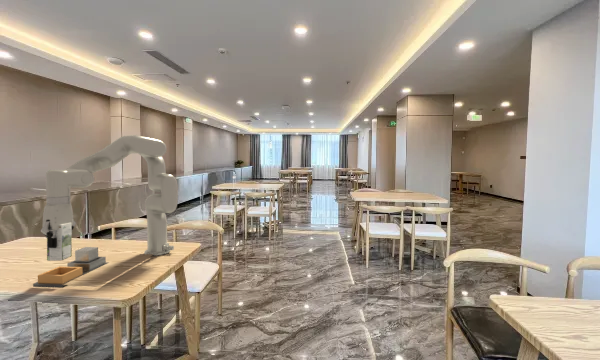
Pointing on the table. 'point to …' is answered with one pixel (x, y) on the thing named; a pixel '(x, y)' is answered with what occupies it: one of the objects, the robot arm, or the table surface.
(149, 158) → the robot arm
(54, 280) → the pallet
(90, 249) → the block
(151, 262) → the table surface
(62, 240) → the syrup box
